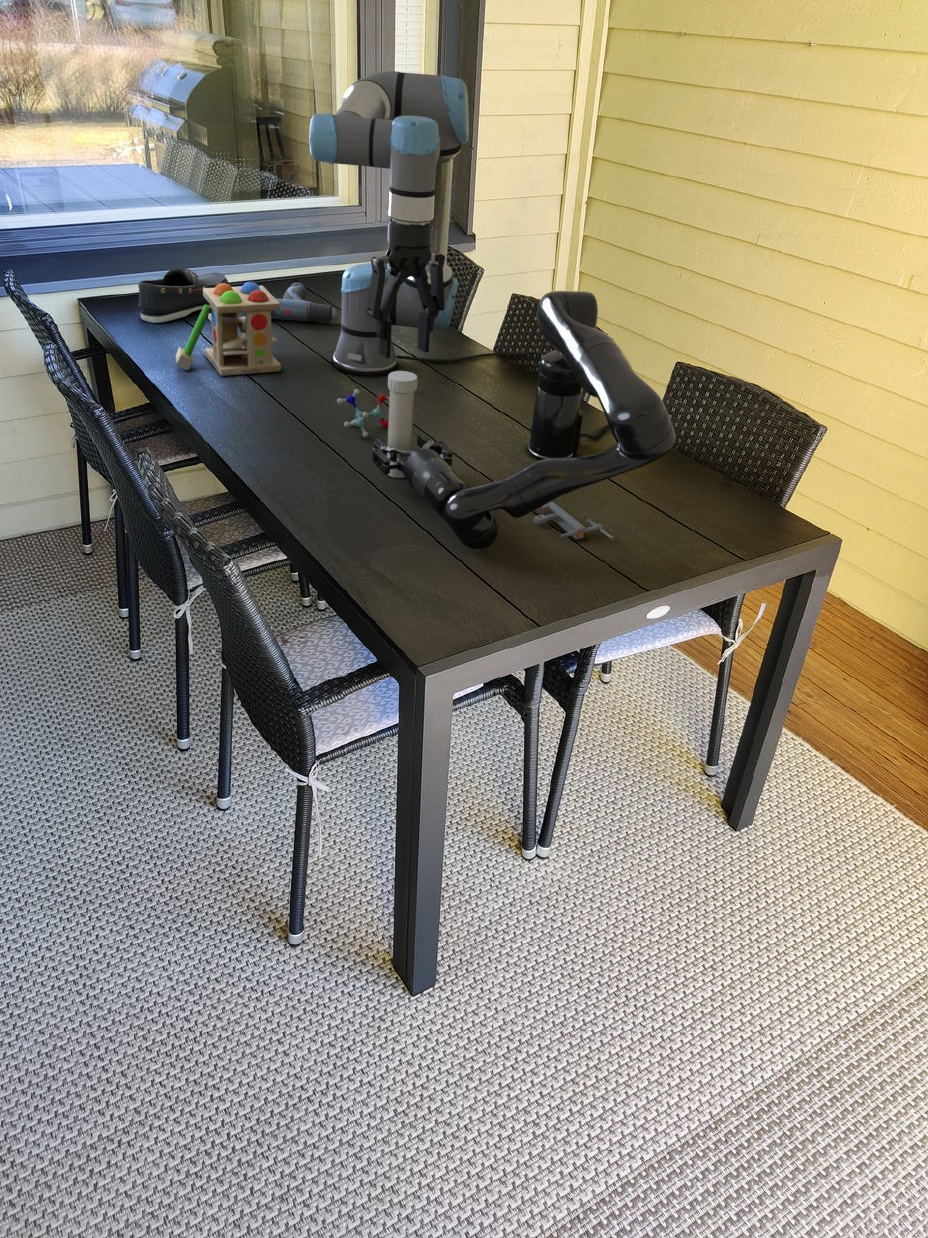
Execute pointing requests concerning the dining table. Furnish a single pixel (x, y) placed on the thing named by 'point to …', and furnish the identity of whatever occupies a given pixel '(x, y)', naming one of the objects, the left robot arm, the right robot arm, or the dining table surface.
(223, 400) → the dining table surface
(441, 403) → the dining table surface
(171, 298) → the boat shoe
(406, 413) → the jar
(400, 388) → the lid
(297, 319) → the power drill
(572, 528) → the clamp
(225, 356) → the pounding bench toy
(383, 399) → the molecular model
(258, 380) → the dining table surface
